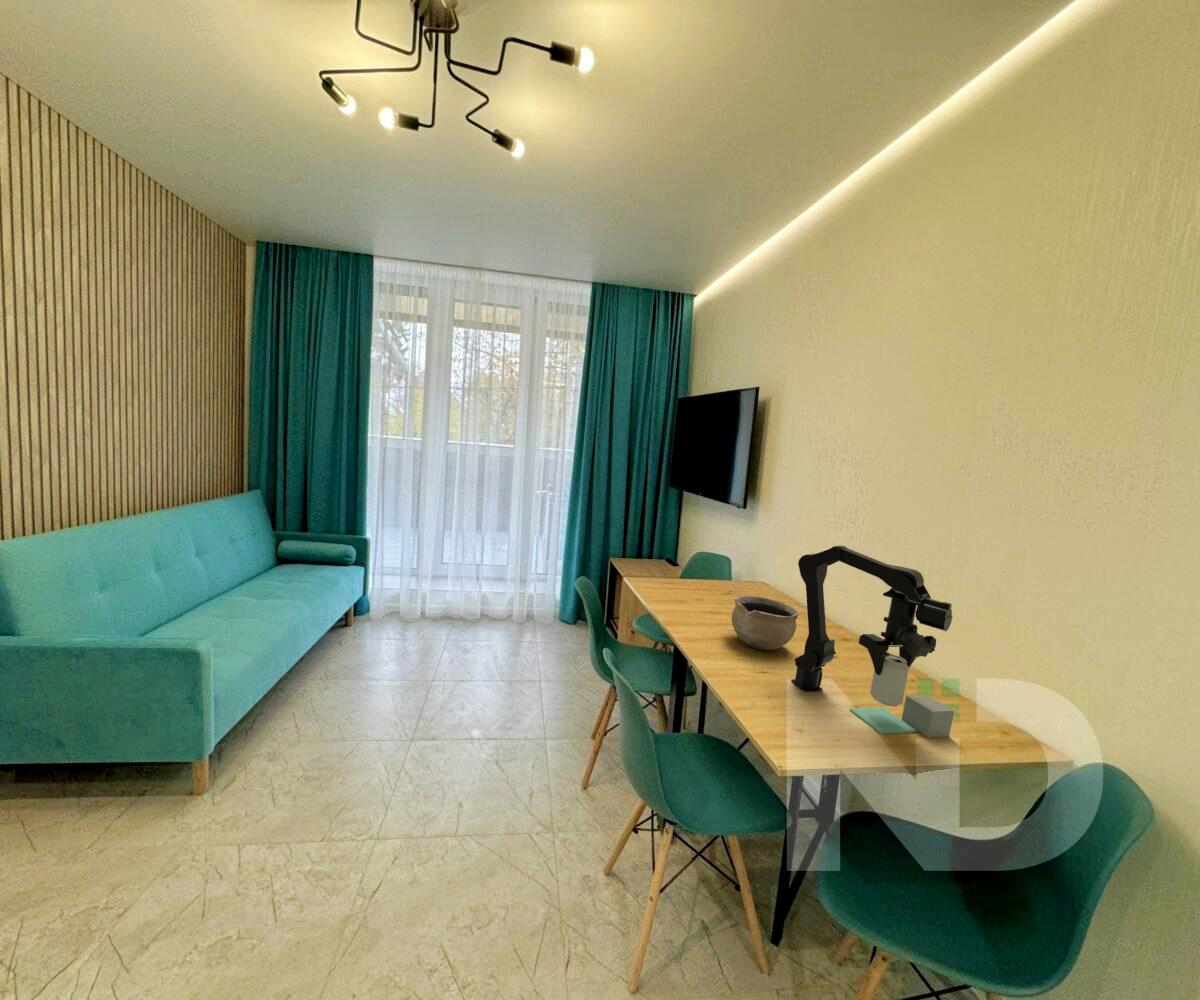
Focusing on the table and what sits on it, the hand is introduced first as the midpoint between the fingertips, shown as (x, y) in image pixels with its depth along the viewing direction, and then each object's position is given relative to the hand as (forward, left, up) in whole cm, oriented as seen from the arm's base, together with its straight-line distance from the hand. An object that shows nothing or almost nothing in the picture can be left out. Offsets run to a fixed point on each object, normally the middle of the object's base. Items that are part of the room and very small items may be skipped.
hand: (890, 674), depth 133 cm
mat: (0, 0, -13) cm, 13 cm away
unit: (+10, -4, -13) cm, 17 cm away
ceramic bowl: (-6, +49, -13) cm, 51 cm away
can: (0, 0, -7) cm, 7 cm away
